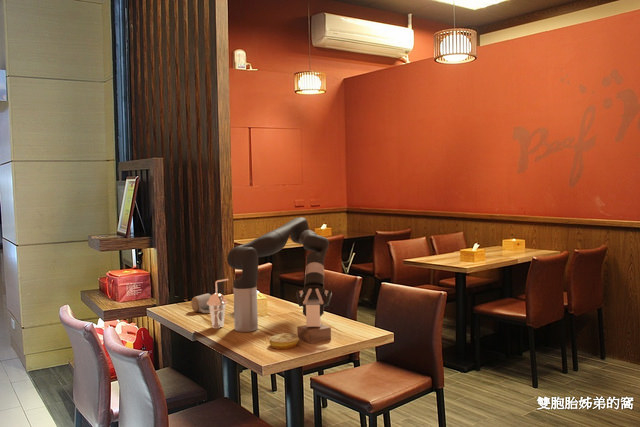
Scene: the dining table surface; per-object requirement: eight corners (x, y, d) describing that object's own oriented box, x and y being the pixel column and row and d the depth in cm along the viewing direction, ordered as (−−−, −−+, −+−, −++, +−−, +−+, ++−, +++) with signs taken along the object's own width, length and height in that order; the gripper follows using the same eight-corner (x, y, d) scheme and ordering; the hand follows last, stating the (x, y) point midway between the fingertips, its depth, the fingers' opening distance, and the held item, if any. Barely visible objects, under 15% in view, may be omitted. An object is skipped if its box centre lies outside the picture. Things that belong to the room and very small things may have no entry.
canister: (307, 323, 217) (307, 299, 217) (320, 322, 217) (320, 299, 217) (306, 326, 212) (305, 302, 212) (320, 326, 212) (319, 302, 212)
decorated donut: (303, 343, 211) (303, 332, 211) (291, 351, 201) (291, 340, 201) (277, 340, 215) (277, 330, 214) (264, 348, 205) (264, 338, 204)
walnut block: (297, 338, 216) (297, 326, 216) (317, 334, 221) (316, 322, 221) (311, 343, 209) (310, 331, 208) (331, 339, 214) (330, 327, 214)
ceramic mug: (190, 311, 266) (189, 294, 265) (206, 308, 271) (205, 292, 271) (201, 315, 258) (200, 298, 257) (217, 312, 263) (217, 295, 262)
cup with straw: (217, 323, 242) (215, 276, 241) (233, 325, 237) (232, 277, 236) (203, 328, 235) (201, 279, 234) (220, 330, 230) (218, 281, 229)
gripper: (333, 282, 226) (332, 320, 215) (297, 282, 227) (294, 320, 216) (332, 271, 220) (331, 309, 209) (295, 271, 221) (292, 309, 210)
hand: (313, 314), depth 213 cm, fingers closed on canister, 5 cm apart
